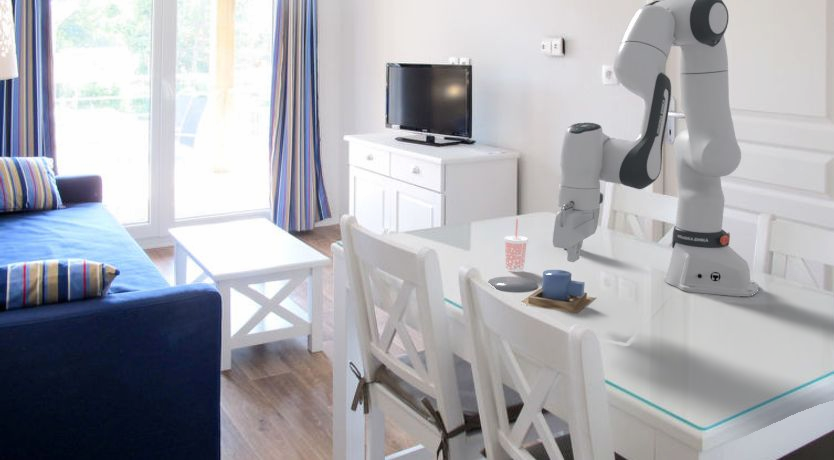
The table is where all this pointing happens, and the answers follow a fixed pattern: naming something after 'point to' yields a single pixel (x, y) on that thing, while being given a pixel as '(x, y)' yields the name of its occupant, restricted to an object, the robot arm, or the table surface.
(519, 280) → the coaster
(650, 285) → the table surface
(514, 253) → the beverage cup
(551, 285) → the blue cylinder with nub
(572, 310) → the tray
